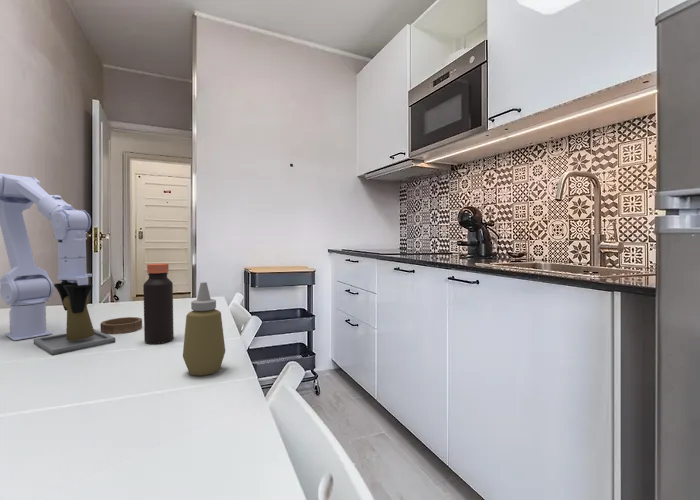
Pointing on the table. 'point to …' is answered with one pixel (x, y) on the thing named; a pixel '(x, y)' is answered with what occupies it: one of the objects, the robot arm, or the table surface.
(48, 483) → the table surface
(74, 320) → the pepper mill
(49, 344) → the tray
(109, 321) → the ring
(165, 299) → the vinegar
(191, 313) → the squeeze bottle
